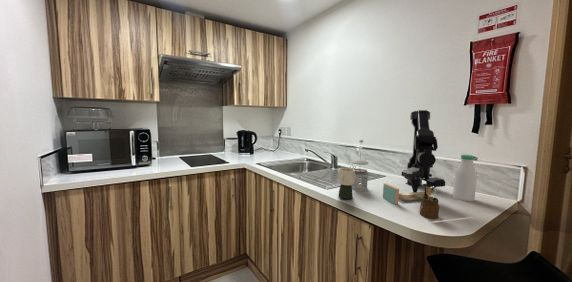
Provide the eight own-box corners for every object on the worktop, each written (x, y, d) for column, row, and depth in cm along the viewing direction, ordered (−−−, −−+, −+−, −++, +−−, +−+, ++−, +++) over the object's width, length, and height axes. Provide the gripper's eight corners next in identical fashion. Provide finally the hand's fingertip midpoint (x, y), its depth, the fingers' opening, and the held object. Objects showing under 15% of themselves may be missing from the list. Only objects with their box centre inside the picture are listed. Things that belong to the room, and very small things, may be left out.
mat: (423, 195, 108) (423, 194, 108) (437, 201, 101) (437, 200, 100) (389, 197, 104) (390, 196, 104) (402, 204, 96) (402, 203, 96)
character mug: (343, 193, 110) (344, 166, 108) (357, 196, 105) (359, 168, 104) (332, 199, 101) (333, 170, 100) (347, 203, 97) (349, 173, 95)
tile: (385, 198, 104) (386, 183, 103) (398, 205, 96) (399, 188, 95) (382, 198, 103) (383, 183, 102) (394, 205, 95) (395, 189, 95)
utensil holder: (439, 216, 85) (442, 185, 84) (435, 221, 81) (438, 188, 79) (422, 211, 89) (424, 181, 88) (416, 216, 85) (419, 184, 84)
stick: (424, 196, 105) (424, 191, 105) (428, 198, 103) (429, 193, 102) (398, 198, 102) (398, 193, 102) (402, 200, 99) (402, 195, 99)
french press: (373, 190, 114) (376, 140, 111) (356, 193, 109) (358, 141, 106) (359, 185, 123) (361, 138, 120) (342, 188, 117) (344, 139, 115)
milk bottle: (478, 203, 99) (483, 157, 97) (457, 201, 101) (462, 156, 99) (468, 196, 107) (473, 154, 104) (449, 195, 108) (453, 153, 106)
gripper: (392, 158, 108) (390, 190, 110) (425, 167, 90) (422, 205, 92) (412, 158, 111) (410, 189, 113) (448, 166, 93) (444, 203, 95)
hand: (420, 196), depth 103 cm, fingers open, 6 cm apart
